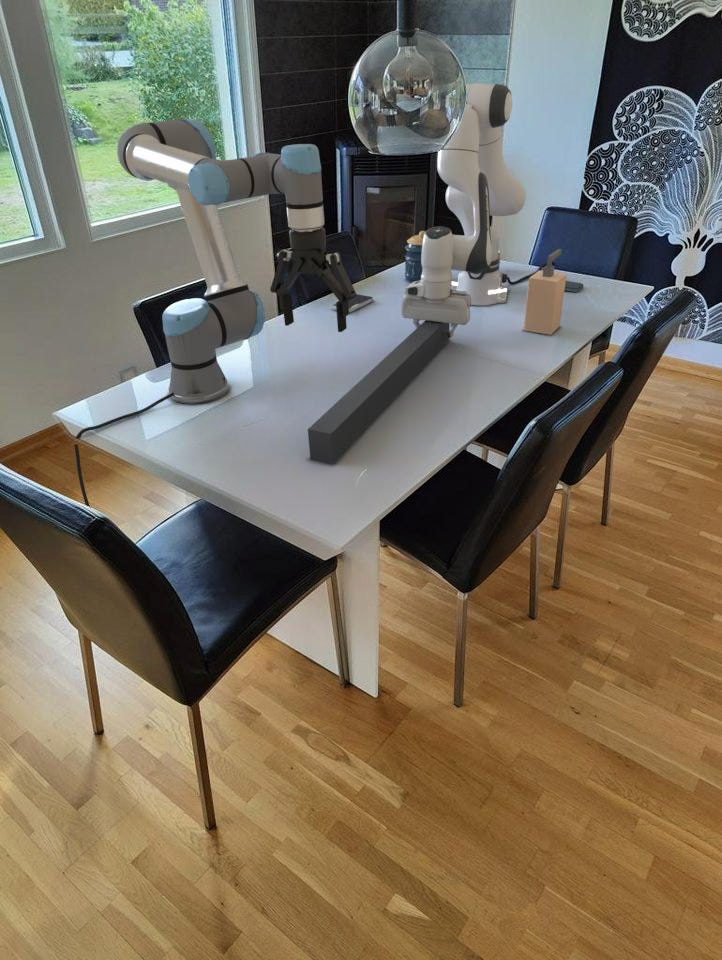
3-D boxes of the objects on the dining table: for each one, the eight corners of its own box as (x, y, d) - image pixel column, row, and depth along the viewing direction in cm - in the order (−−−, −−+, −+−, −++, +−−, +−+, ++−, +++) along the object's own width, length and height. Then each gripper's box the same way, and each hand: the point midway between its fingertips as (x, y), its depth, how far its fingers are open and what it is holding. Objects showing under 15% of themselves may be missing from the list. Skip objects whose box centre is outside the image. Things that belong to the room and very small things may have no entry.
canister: (411, 285, 249) (411, 236, 239) (400, 276, 259) (400, 228, 250) (444, 281, 252) (445, 232, 242) (431, 272, 262) (432, 225, 253)
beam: (333, 464, 144) (331, 433, 140) (310, 459, 146) (307, 429, 142) (449, 340, 202) (449, 316, 198) (431, 338, 204) (432, 314, 200)
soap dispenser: (550, 335, 203) (559, 261, 191) (523, 330, 207) (530, 257, 195) (564, 322, 212) (573, 250, 200) (538, 317, 216) (545, 247, 204)
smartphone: (373, 297, 235) (349, 309, 225) (373, 300, 236) (349, 313, 226) (355, 294, 239) (330, 305, 229) (356, 297, 240) (331, 309, 229)
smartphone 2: (577, 289, 235) (536, 281, 242) (576, 293, 236) (535, 286, 243) (584, 283, 240) (544, 276, 247) (583, 287, 241) (543, 280, 248)
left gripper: (368, 226, 137) (372, 327, 148) (266, 221, 147) (277, 316, 158) (352, 234, 131) (357, 338, 142) (246, 228, 141) (259, 326, 152)
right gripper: (474, 288, 189) (472, 335, 196) (407, 282, 196) (407, 327, 204) (468, 295, 184) (465, 343, 191) (399, 288, 192) (399, 334, 199)
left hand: (315, 327), depth 150 cm, fingers open, 13 cm apart
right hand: (434, 335), depth 198 cm, fingers open, 8 cm apart
